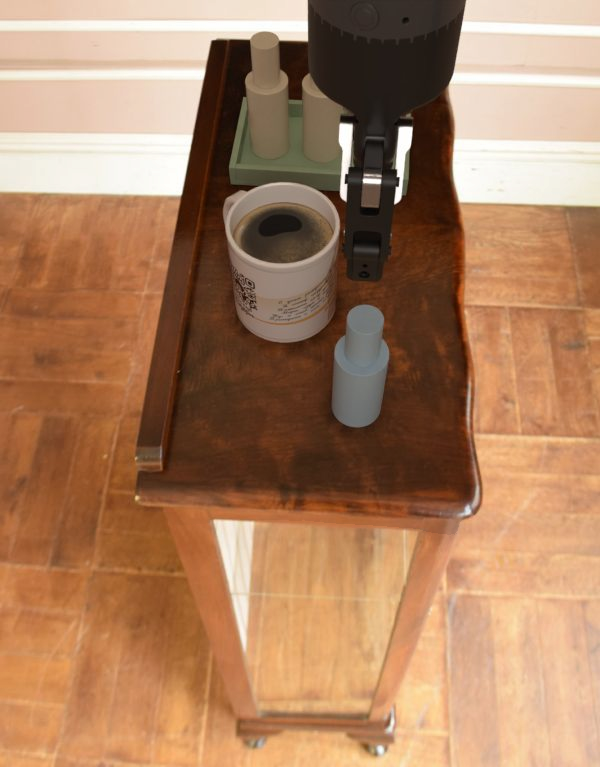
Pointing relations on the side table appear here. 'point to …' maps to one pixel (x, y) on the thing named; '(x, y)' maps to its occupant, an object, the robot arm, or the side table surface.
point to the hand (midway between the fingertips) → (367, 225)
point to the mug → (283, 259)
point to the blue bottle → (360, 368)
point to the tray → (287, 159)
